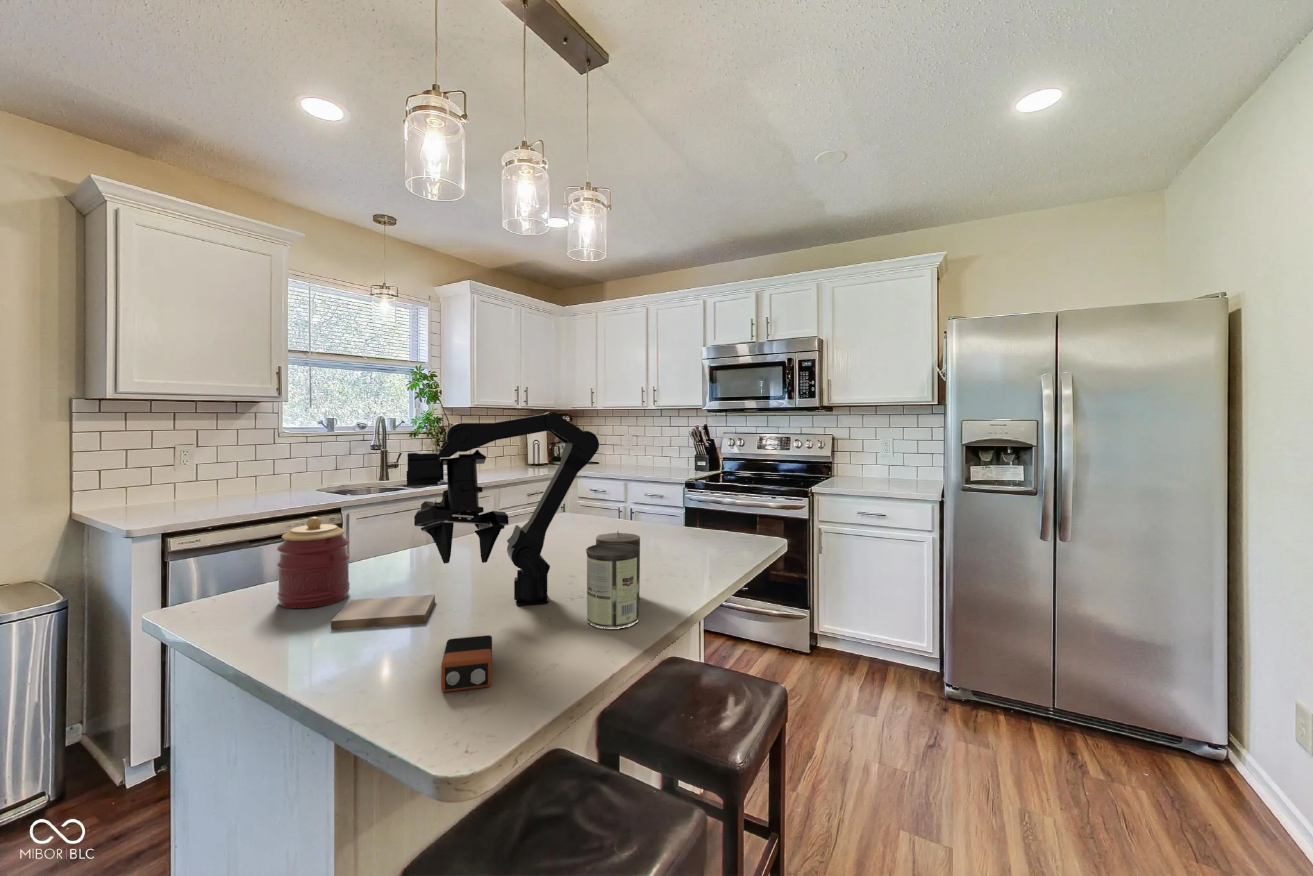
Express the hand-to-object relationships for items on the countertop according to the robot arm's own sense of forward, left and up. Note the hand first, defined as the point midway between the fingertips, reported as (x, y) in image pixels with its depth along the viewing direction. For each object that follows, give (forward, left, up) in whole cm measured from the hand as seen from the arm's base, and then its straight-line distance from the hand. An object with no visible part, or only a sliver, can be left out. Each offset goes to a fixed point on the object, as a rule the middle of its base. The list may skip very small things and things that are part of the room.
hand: (466, 562), depth 104 cm
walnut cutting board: (+15, -6, -11) cm, 20 cm away
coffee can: (-28, +6, -11) cm, 30 cm away
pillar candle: (-31, -6, -11) cm, 33 cm away
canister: (+32, -19, -11) cm, 39 cm away
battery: (-2, +19, -9) cm, 21 cm away
